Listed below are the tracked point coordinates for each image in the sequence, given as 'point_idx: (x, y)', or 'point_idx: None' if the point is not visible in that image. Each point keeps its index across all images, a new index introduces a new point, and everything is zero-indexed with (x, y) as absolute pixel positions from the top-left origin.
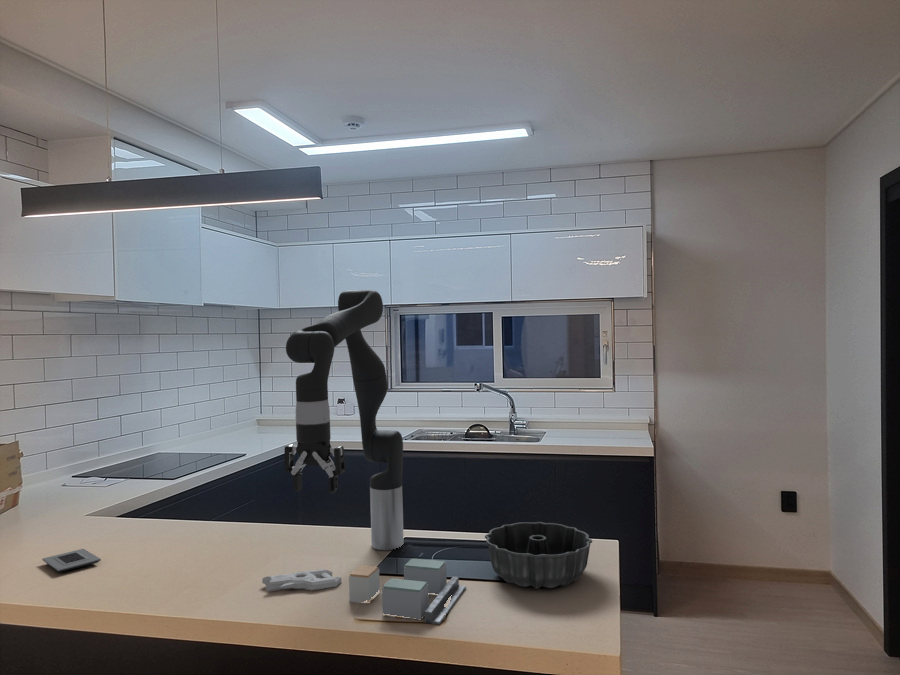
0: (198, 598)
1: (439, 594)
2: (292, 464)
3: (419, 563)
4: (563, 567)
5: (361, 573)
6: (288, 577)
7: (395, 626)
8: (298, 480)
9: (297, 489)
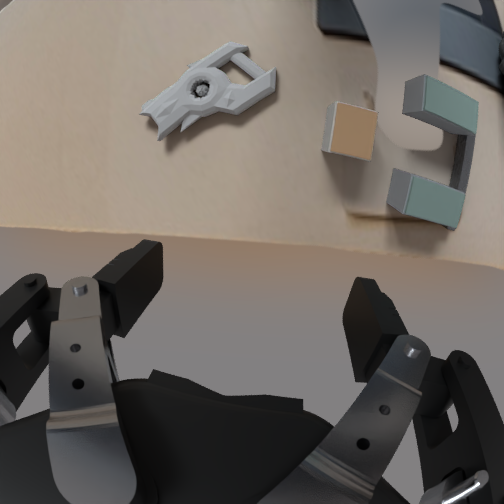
0: (87, 177)
1: (463, 169)
2: (26, 309)
3: (446, 104)
4: None
5: (354, 148)
6: (182, 106)
7: (405, 234)
8: (137, 307)
9: (157, 291)
